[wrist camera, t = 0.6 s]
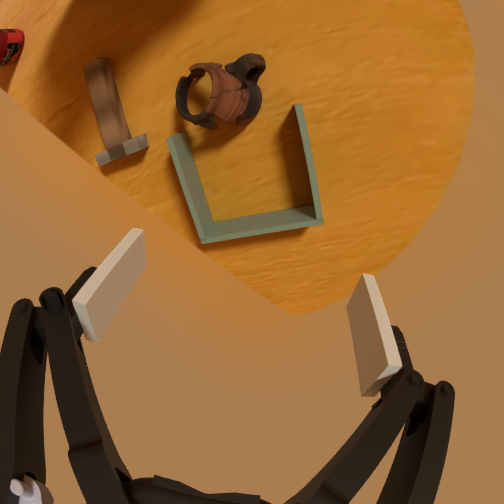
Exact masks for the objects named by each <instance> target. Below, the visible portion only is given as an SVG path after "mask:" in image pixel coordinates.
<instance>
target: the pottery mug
mask: <svg viewBox="0 0 504 504" xmlns="http://www.w3.org/2000/svg"><path fill="white" fill-rule="evenodd" d="M221 67H222V65H221V64H218V63H198V64H194V65H192V66H191V67H190V68H189V69H190V71H191V73H190V75H189V76H188V77H184V76H182V77H181V78H180V80H179V82H178V85H177V88H176V95H175V96H176V107H177V109H178V112H179V114H180V116H181V117H182V118H183V119H185V120H187V121H190V122H192V123H193V124H195V125H197V124H198V125H200V126H201V127H206V128H207V129H209V130H211V129H216V128H217V125H216V124H214V115H216V116H217V117H218V118H220V119H221V120H222V121H224V122H226V123H227V122H233V121H234V120H235V119H236V118H237V119H241V120H240V121H239V122H237V123H236V126H242V125H245V124H247V123H249V122H250V121H252V120H253V119H254V117H255V116H256V115H257V114H258V112H259V110H260V107H261V103H262V94H261V89H260V87H258V85H257V84H256V83H257V82H258V79H259V77H260V75H261V74H262V73H263V72H264V70H265V68H266V65H265V60H264V58H263V57H262V56H261V55H258V54H253V53H250V54H246V55H244V56H242V57H240V58H239V59H237V60H236V61H235V62H233V63H229V64H226V65H225V70H224V69H220V68H221ZM205 71H207V72H208V73H209V75H210V76H211V80H212V96H211V99H210V102H209V103H208V105H207V107H206V108H205V110H204V111H203V112H201V113H200V114H198V115H191V114H190V113H189V110H188V107H187V92H188V89H189V86H190V84H191V83H192V81H193V79H194V78H197V77H201V76H203V75H204V73H205ZM242 83H244V84H245V86H246V88H243V89H241V87H242Z"/></svg>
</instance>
